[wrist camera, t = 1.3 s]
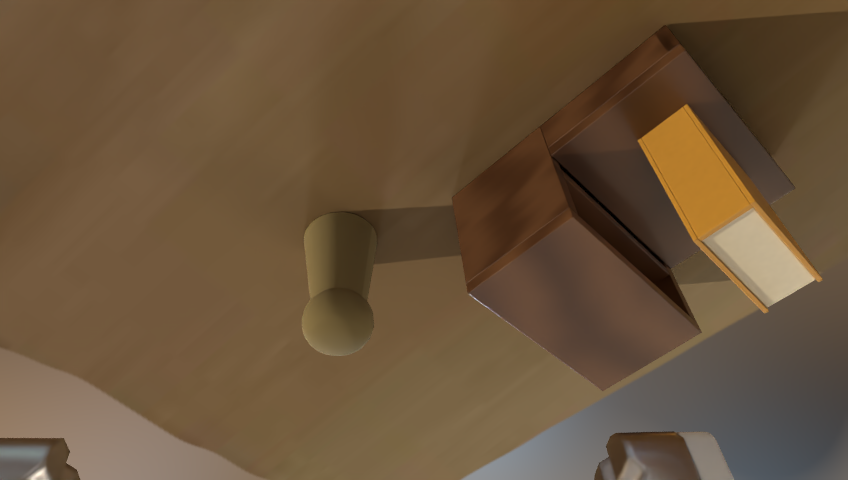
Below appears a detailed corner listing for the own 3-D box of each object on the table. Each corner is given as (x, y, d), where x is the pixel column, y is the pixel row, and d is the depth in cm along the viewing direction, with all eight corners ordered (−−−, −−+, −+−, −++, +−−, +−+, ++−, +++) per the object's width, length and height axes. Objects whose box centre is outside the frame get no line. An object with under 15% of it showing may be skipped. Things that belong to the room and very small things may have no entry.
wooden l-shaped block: (665, 24, 49) (728, 103, 41) (772, 159, 57) (843, 248, 49) (451, 197, 57) (467, 293, 49) (571, 294, 65) (602, 391, 57)
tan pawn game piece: (315, 273, 62) (307, 374, 53) (294, 219, 58) (283, 318, 49) (384, 261, 61) (388, 360, 53) (368, 205, 57) (369, 303, 49)
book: (686, 103, 49) (755, 200, 40) (749, 178, 53) (823, 279, 45) (637, 140, 50) (693, 241, 42) (702, 210, 55) (764, 313, 46)
